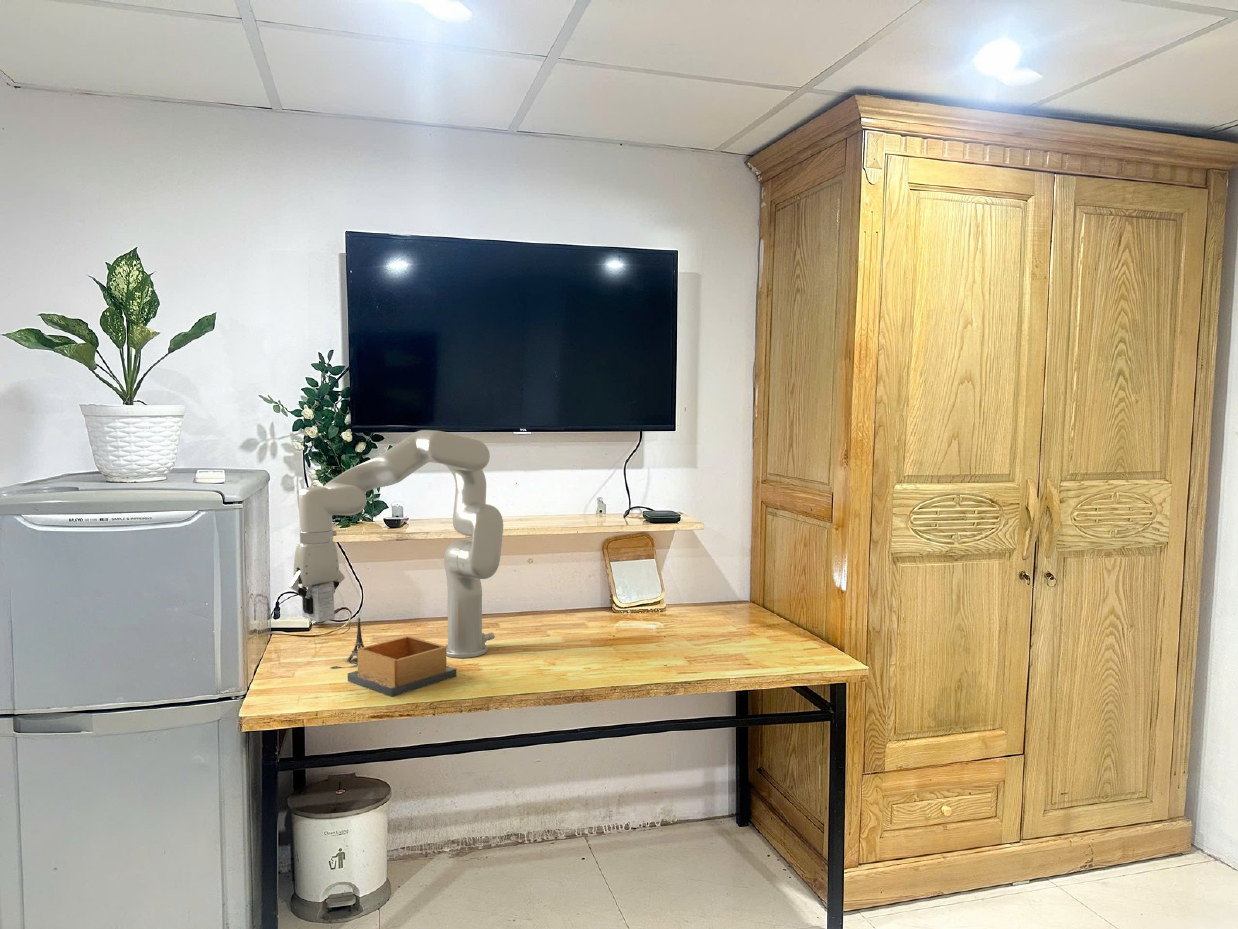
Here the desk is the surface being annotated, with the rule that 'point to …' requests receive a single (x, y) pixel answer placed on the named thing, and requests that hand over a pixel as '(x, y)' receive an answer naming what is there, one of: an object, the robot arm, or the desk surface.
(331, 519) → the robot arm
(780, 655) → the desk surface
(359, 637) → the eiffel tower figurine
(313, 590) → the medicine box
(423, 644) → the brown open box
